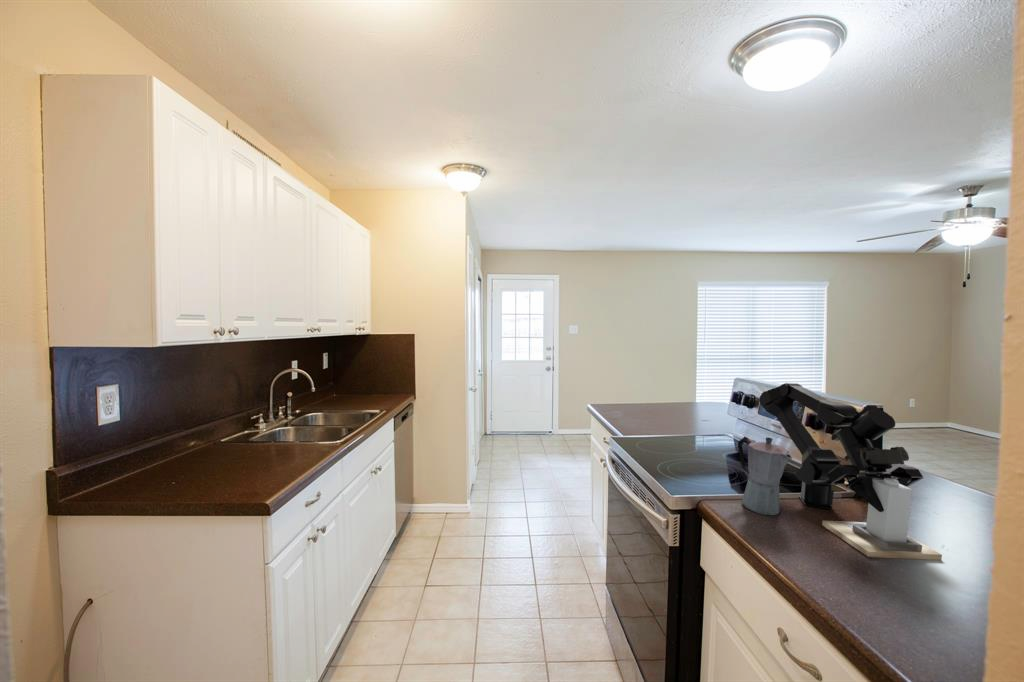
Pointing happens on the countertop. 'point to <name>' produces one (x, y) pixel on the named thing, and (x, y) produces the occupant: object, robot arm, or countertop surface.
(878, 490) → the white rectangular bottle
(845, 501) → the countertop surface
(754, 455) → the moka pot
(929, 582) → the countertop surface
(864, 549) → the baseplate
